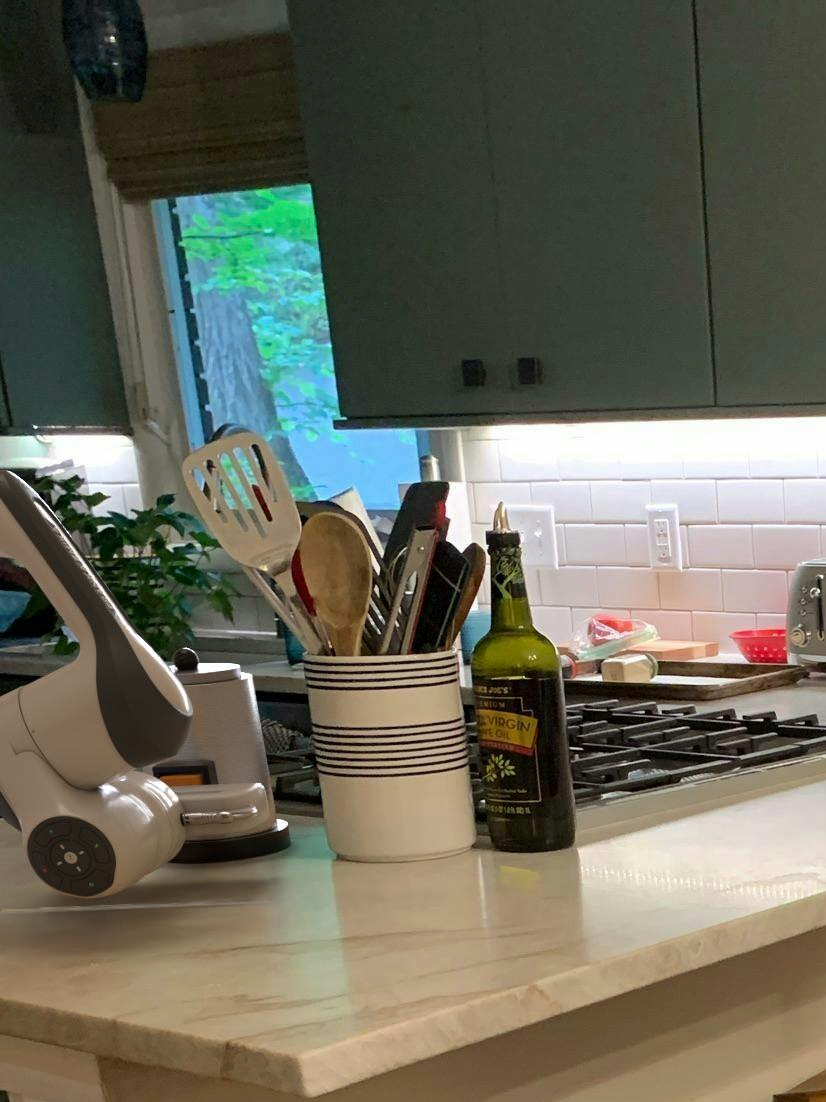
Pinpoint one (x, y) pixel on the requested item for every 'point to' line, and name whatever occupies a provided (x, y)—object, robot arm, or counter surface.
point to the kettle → (223, 755)
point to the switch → (182, 780)
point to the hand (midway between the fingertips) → (178, 796)
